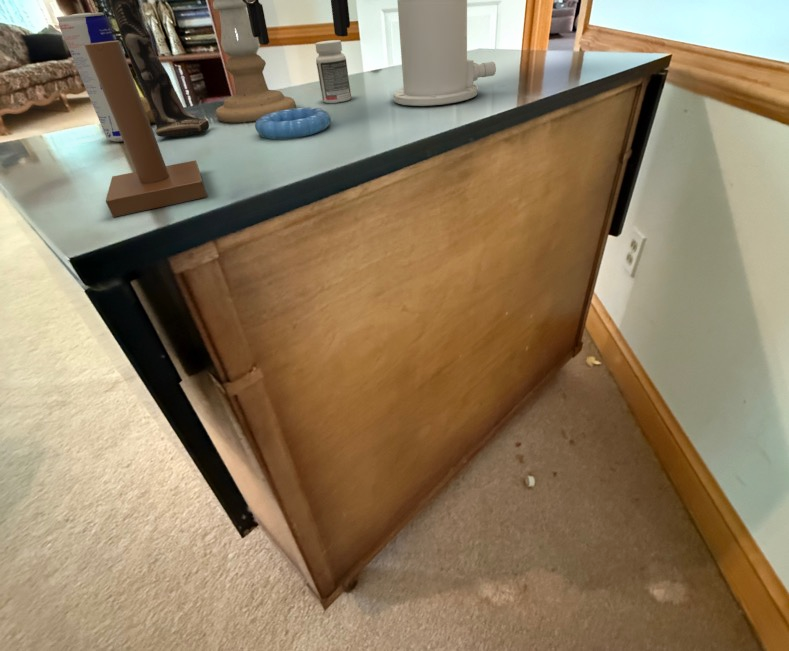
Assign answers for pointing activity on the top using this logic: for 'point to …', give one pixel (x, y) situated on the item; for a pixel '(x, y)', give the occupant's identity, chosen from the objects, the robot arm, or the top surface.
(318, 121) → the ring
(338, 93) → the pill bottle
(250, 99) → the candle holder
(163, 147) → the top surface
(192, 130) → the statue
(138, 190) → the brown upside-down t-shape
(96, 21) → the white blue box
